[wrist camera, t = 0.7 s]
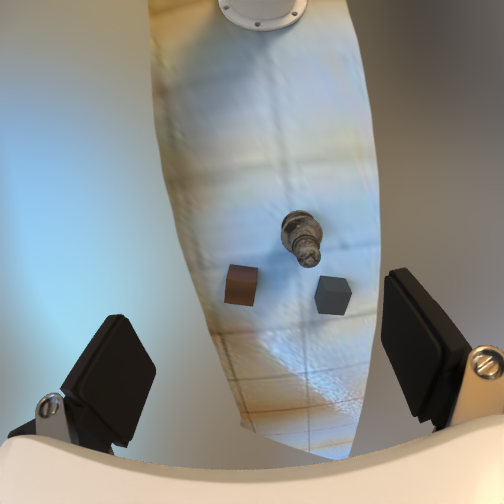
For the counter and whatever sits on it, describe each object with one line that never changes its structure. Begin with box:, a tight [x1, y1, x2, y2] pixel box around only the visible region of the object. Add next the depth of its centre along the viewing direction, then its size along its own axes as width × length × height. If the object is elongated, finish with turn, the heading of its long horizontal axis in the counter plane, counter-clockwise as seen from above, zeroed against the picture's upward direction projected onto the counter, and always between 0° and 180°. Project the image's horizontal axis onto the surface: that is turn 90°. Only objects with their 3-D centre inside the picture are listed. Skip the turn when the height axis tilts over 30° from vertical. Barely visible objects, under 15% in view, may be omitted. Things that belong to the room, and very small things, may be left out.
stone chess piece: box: [281, 211, 322, 268], centre depth 36 cm, size 6×6×12 cm
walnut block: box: [224, 264, 258, 306], centre depth 43 cm, size 4×4×4 cm
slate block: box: [314, 276, 352, 315], centre depth 44 cm, size 4×4×4 cm
